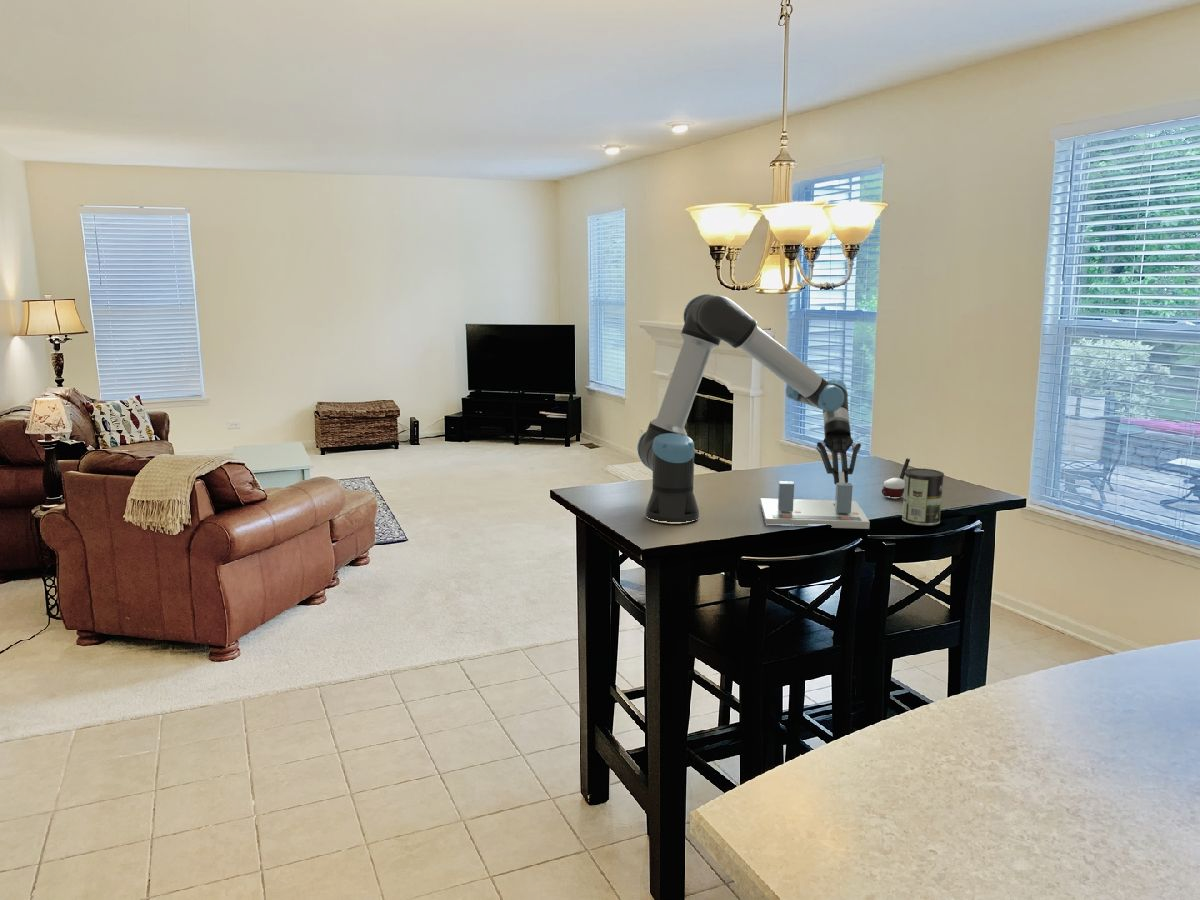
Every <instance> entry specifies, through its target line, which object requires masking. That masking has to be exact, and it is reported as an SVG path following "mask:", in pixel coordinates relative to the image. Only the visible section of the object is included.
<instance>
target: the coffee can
mask: <svg viewBox="0 0 1200 900" xmlns="http://www.w3.org/2000/svg"><path fill="white" fill-rule="evenodd" d="M944 477H945V474H944V472H943V471H941V470H937V469H932V468H931V469H930V468H918V467H917V468H909V469H908V468H907V470H906V471H905V476H904V481H905V486H904V493H903V504H902V514H901V515H902V518H901V520H902V521H903V522H905V523H908V524H912V525H917V526H936V525H938V524H940V523H941V510H942V498H943V487H944V486H943V485H944Z"/></svg>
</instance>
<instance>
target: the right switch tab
mask: <svg viewBox="0 0 1200 900" xmlns="http://www.w3.org/2000/svg"><path fill="white" fill-rule="evenodd" d="M835 485H836V486H835V499H834V500H835V511H836V513H851V503H852V501H853V484H852V483H851V482H848V483H836V484H835Z"/></svg>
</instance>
